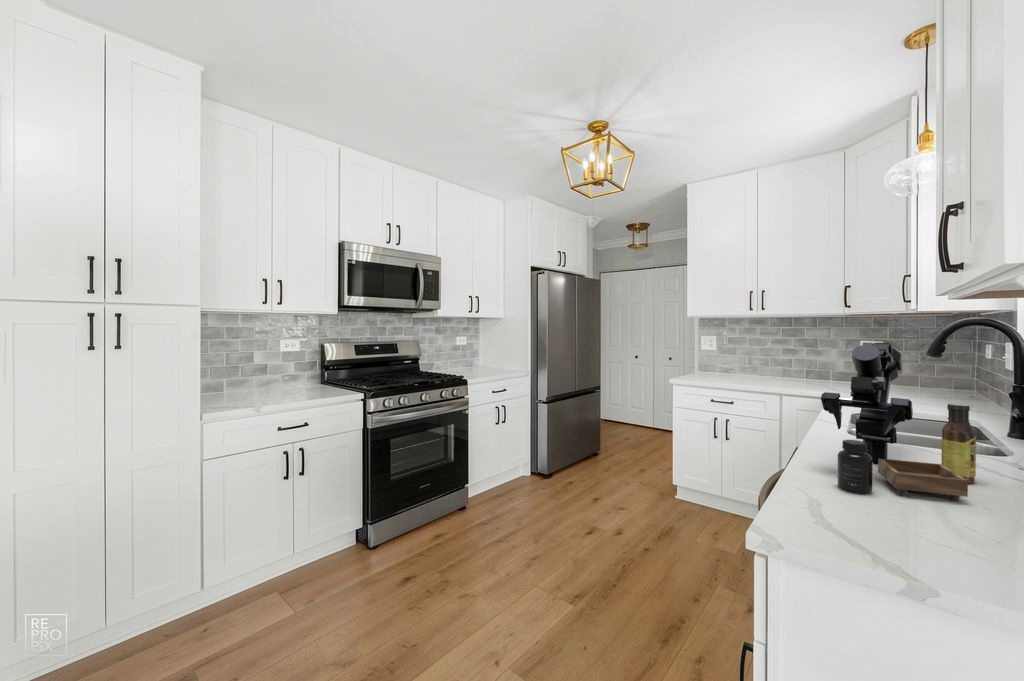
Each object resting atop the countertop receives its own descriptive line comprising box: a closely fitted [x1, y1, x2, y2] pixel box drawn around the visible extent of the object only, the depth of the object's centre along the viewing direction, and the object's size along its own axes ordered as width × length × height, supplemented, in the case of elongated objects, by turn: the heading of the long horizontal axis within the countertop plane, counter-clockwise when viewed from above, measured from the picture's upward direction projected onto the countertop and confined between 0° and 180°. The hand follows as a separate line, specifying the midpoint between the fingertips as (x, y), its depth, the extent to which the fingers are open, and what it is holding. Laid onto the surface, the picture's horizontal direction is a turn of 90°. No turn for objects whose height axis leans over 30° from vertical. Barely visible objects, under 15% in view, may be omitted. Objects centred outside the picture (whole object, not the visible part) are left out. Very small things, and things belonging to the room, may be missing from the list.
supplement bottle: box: [837, 439, 873, 495], centre depth 108 cm, size 7×7×12 cm
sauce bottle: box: [941, 402, 977, 484], centre depth 113 cm, size 6×6×20 cm
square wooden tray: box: [877, 458, 969, 502], centre depth 106 cm, size 13×13×6 cm
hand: (860, 431), depth 113 cm, fingers open, 9 cm apart
